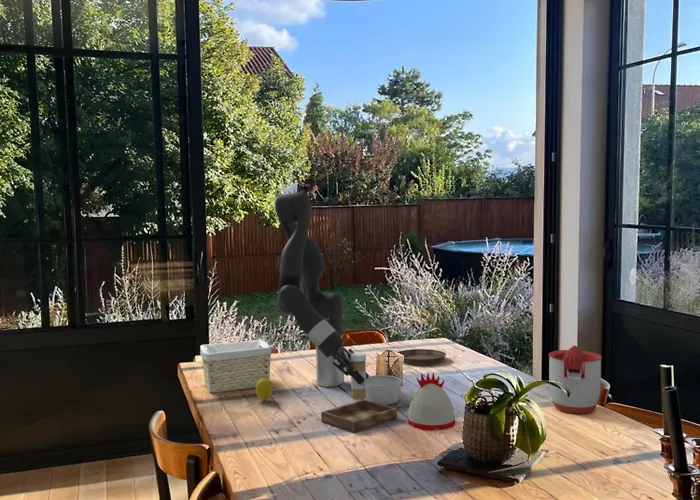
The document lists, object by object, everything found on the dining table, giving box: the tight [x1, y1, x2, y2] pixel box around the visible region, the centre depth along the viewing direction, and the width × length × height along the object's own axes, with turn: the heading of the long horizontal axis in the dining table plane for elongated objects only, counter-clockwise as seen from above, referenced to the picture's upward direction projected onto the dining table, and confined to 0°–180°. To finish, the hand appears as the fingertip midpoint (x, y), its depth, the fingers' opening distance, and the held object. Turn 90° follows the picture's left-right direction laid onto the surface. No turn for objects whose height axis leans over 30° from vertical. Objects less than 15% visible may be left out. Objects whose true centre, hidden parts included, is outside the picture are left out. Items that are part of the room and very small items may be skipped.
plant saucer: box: [396, 348, 447, 366], centre depth 270 cm, size 21×21×3 cm
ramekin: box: [365, 374, 402, 406], centre depth 215 cm, size 13×13×7 cm
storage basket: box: [199, 339, 272, 394], centre depth 236 cm, size 24×16×15 cm
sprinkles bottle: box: [350, 352, 367, 401], centre depth 195 cm, size 5×5×13 cm
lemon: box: [255, 377, 273, 402], centre depth 217 cm, size 6×6×8 cm
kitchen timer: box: [407, 372, 456, 432], centre depth 192 cm, size 14×14×15 cm
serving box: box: [320, 399, 398, 434], centre depth 195 cm, size 18×14×3 cm
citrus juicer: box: [548, 344, 603, 415], centre depth 201 cm, size 16×17×20 cm
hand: (364, 380), depth 194 cm, fingers closed on sprinkles bottle, 4 cm apart
